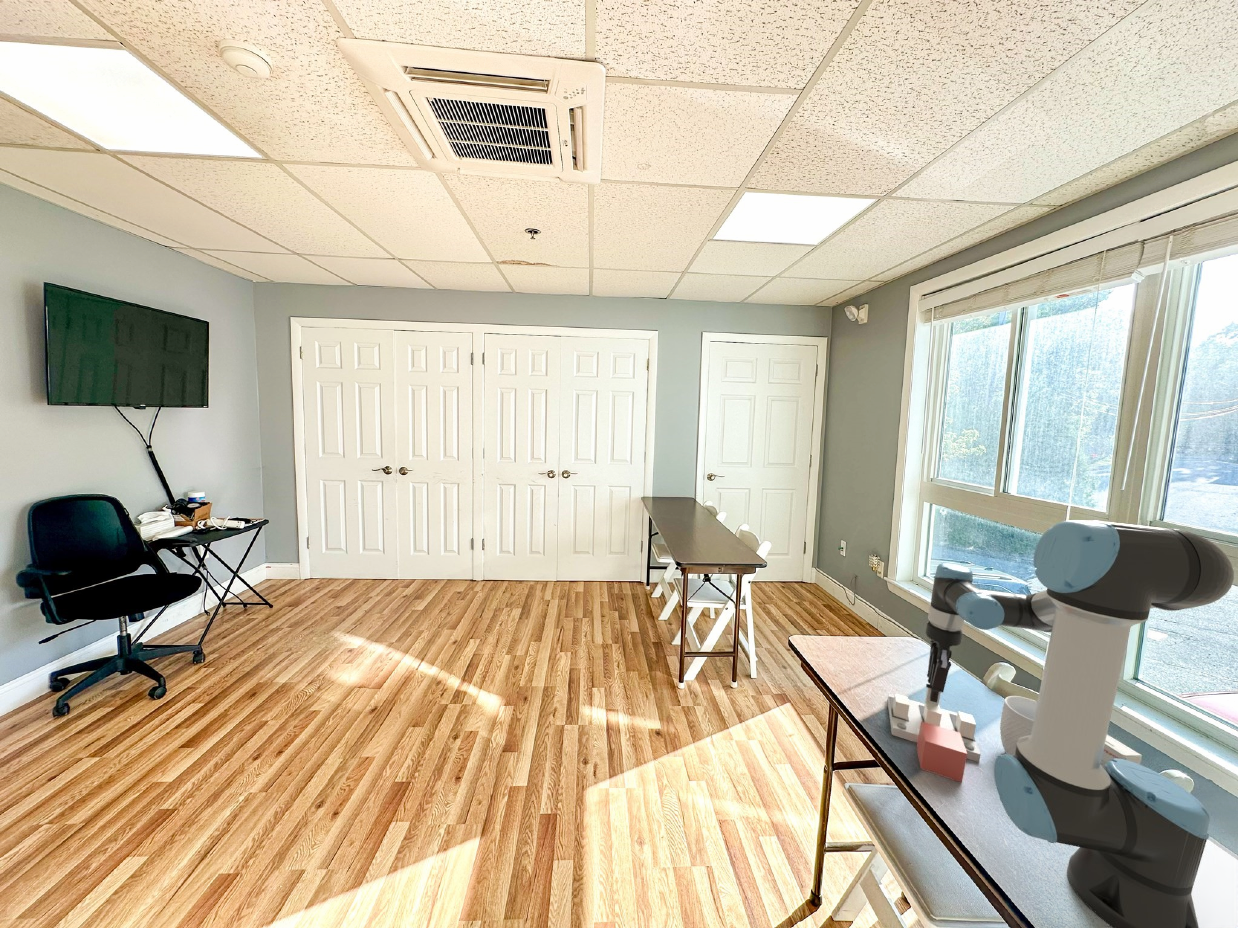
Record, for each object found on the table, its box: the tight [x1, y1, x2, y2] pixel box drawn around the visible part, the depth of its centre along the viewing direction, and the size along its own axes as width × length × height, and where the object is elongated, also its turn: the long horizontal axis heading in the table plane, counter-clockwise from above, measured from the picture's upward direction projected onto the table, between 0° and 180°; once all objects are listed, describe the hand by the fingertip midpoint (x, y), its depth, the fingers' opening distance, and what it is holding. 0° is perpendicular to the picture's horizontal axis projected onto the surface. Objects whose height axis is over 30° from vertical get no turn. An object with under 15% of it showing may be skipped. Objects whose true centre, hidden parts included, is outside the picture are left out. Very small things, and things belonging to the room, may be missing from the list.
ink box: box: [1100, 734, 1143, 769], centre depth 105 cm, size 9×5×12 cm, turn 9°
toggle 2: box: [923, 700, 942, 727], centre depth 122 cm, size 4×3×4 cm
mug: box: [999, 695, 1038, 756], centre depth 111 cm, size 15×11×13 cm
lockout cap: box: [916, 721, 968, 783], centre depth 110 cm, size 8×8×7 cm
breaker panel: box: [887, 693, 982, 763], centre depth 123 cm, size 16×18×2 cm
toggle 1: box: [893, 693, 910, 720], centre depth 125 cm, size 4×3×4 cm
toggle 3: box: [955, 710, 977, 739], centre depth 119 cm, size 4×3×4 cm
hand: (930, 709), depth 125 cm, fingers closed
